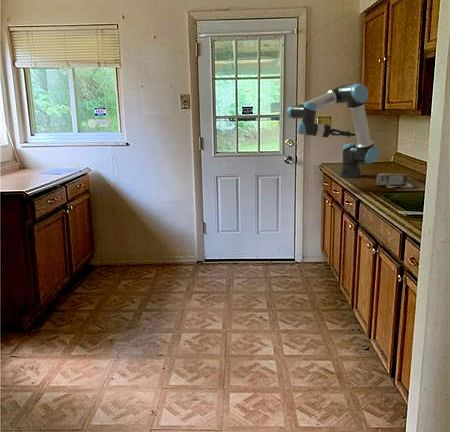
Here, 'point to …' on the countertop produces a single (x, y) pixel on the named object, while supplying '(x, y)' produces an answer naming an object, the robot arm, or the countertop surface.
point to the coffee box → (391, 179)
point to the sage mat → (399, 186)
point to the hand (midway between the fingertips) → (359, 135)
